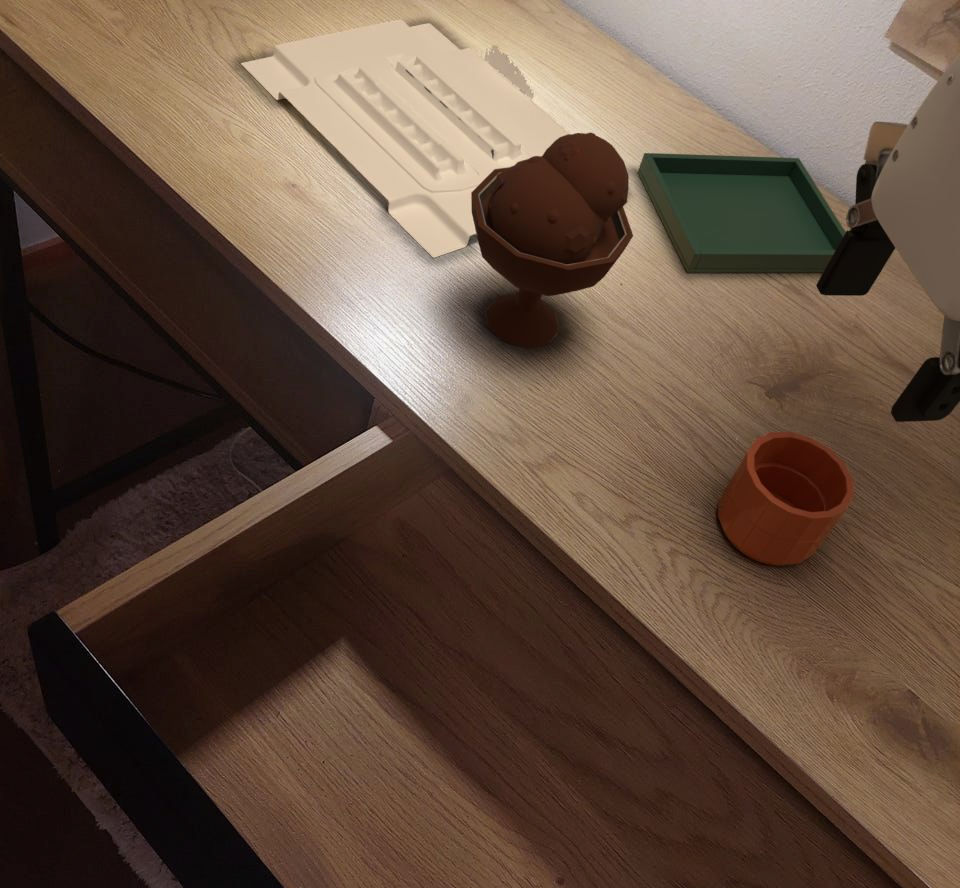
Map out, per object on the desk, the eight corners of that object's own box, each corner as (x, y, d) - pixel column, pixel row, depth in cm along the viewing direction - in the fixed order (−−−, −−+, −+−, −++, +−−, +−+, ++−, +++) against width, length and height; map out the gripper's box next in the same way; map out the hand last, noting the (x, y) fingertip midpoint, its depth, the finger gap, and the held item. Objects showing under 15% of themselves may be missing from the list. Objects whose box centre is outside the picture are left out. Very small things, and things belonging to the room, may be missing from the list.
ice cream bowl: (518, 254, 83) (566, 72, 71) (623, 338, 79) (692, 162, 68) (418, 304, 77) (452, 115, 66) (526, 397, 74) (583, 216, 62)
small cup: (791, 483, 74) (826, 429, 70) (832, 565, 70) (872, 513, 66) (700, 488, 72) (731, 433, 68) (737, 573, 68) (772, 521, 64)
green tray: (790, 176, 97) (799, 157, 96) (849, 272, 90) (860, 254, 88) (637, 171, 93) (644, 152, 91) (686, 272, 86) (695, 253, 84)
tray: (434, 259, 81) (441, 217, 78) (238, 75, 92) (238, 32, 89) (624, 192, 91) (636, 152, 88) (426, 33, 102) (431, -7, 99)
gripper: (1269, 180, 41) (1009, 469, 55) (1042, -43, 51) (867, 250, 64) (1117, 173, 39) (885, 475, 53) (909, -59, 49) (758, 248, 62)
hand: (876, 351), depth 58 cm, fingers open, 9 cm apart
